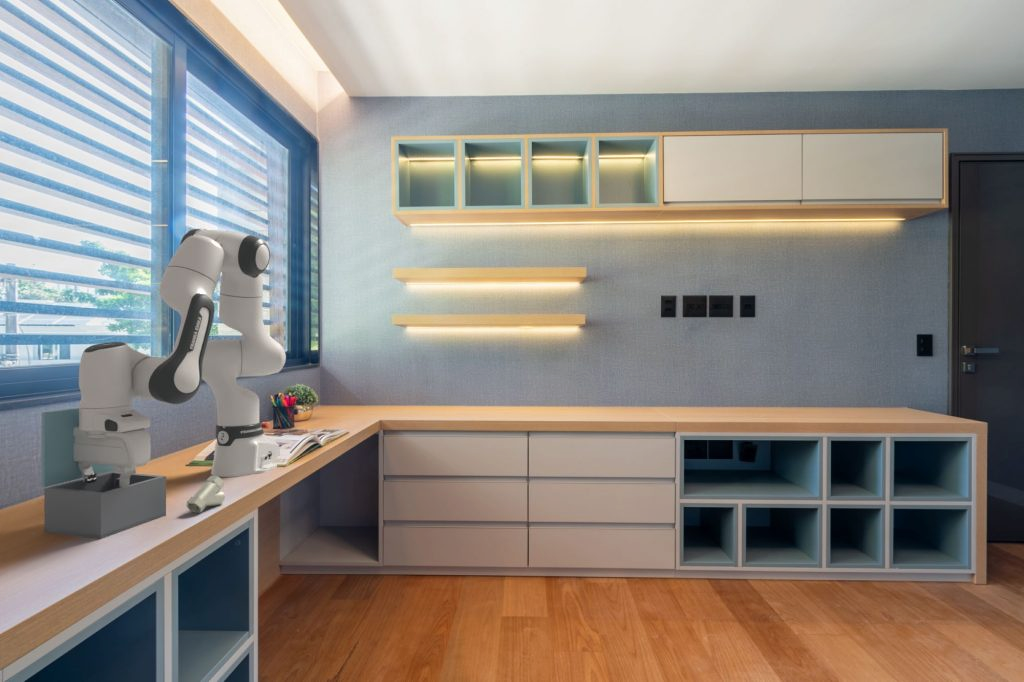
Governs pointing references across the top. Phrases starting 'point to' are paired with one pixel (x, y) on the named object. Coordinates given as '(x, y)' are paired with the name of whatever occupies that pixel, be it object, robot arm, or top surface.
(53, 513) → the box
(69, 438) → the lid
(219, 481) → the pipe fitting
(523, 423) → the top surface
